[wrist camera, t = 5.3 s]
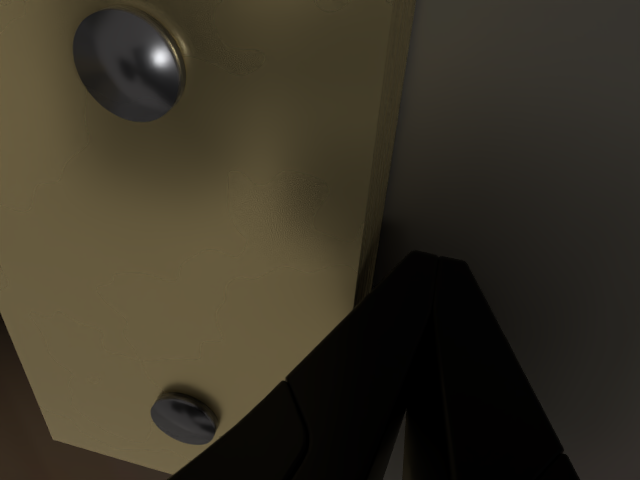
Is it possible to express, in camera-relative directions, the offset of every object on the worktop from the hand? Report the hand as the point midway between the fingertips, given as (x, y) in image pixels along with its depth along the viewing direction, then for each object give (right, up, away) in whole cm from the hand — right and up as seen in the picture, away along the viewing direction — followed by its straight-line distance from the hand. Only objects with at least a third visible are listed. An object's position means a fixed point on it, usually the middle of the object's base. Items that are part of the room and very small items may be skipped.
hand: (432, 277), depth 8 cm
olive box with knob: (-6, +2, +2) cm, 6 cm away
